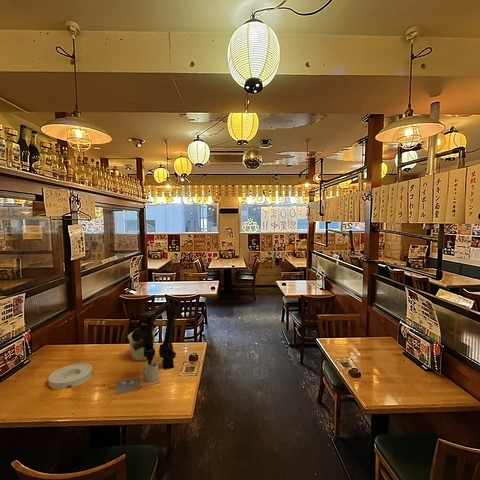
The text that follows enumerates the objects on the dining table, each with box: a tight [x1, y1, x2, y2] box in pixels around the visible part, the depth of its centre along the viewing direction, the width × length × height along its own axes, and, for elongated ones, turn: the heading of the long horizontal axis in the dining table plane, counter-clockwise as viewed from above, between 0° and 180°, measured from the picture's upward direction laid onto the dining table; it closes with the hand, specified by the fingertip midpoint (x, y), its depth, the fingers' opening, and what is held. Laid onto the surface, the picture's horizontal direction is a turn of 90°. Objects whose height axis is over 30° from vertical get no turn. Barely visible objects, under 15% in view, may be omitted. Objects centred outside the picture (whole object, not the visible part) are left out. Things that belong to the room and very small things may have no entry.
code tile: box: [115, 376, 140, 396], centre depth 165 cm, size 12×14×1 cm
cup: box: [141, 361, 160, 382], centre depth 170 cm, size 7×10×9 cm
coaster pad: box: [139, 373, 161, 388], centre depth 170 cm, size 11×10×1 cm
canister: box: [127, 330, 156, 362], centre depth 200 cm, size 18×18×21 cm
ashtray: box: [47, 362, 93, 390], centre depth 174 cm, size 23×23×4 cm
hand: (148, 361), depth 169 cm, fingers open, 9 cm apart
